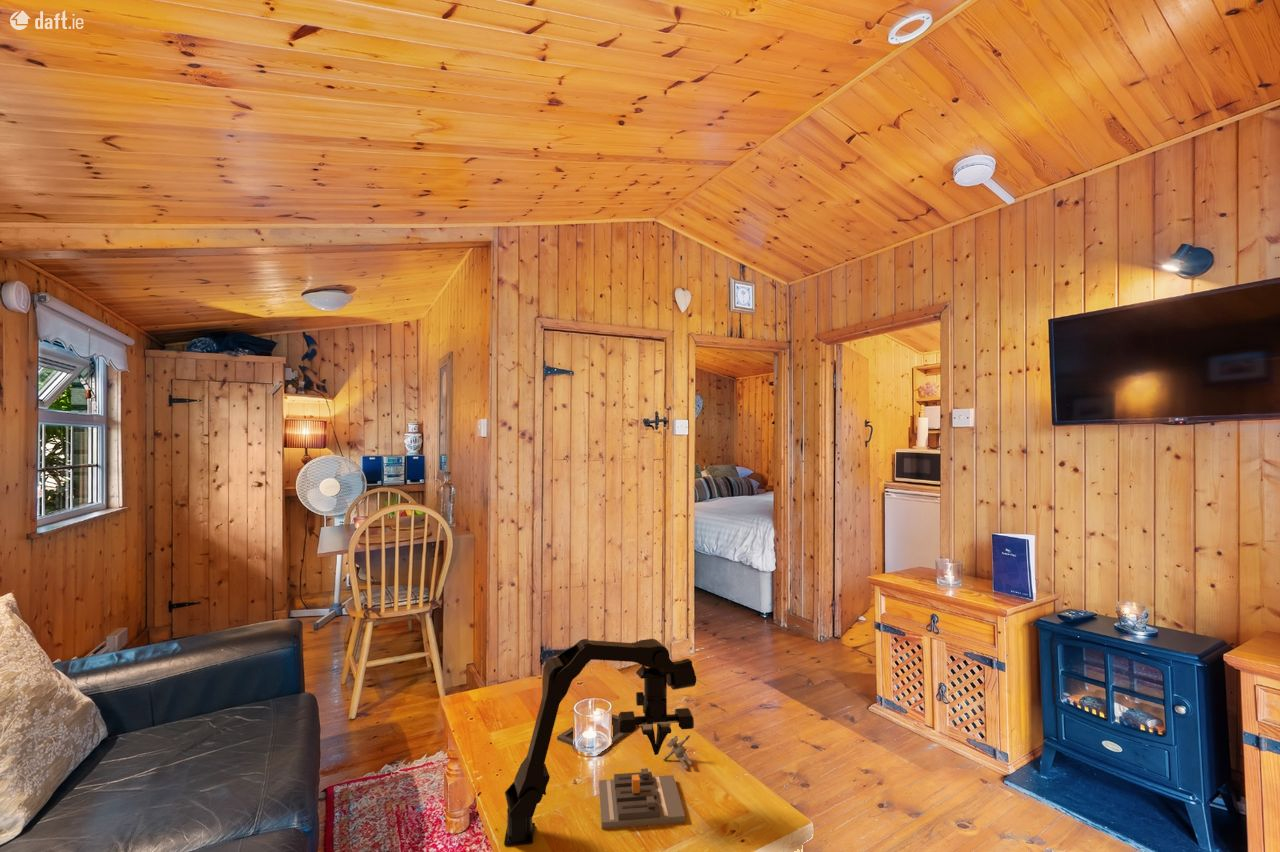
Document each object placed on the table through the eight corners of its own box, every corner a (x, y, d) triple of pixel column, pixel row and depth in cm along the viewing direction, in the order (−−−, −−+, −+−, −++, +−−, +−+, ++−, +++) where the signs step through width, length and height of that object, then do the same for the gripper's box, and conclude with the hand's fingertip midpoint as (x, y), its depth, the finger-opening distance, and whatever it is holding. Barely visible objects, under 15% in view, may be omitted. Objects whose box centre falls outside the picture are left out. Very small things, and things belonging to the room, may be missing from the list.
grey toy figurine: (670, 775, 158) (655, 749, 165) (680, 783, 161) (664, 757, 169) (697, 749, 159) (681, 724, 167) (706, 757, 163) (689, 733, 170)
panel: (685, 822, 138) (684, 803, 138) (601, 828, 136) (601, 809, 136) (673, 780, 155) (673, 763, 155) (599, 786, 153) (598, 768, 153)
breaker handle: (639, 792, 144) (639, 779, 145) (632, 793, 144) (632, 780, 144) (638, 787, 147) (638, 774, 147) (631, 787, 147) (631, 774, 147)
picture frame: (597, 757, 168) (639, 728, 185) (597, 750, 168) (639, 721, 185) (557, 741, 177) (600, 714, 194) (557, 734, 177) (600, 708, 194)
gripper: (685, 677, 156) (686, 735, 155) (616, 680, 154) (617, 740, 153) (693, 695, 145) (694, 758, 144) (619, 699, 143) (620, 763, 142)
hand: (655, 754), depth 146 cm, fingers closed
